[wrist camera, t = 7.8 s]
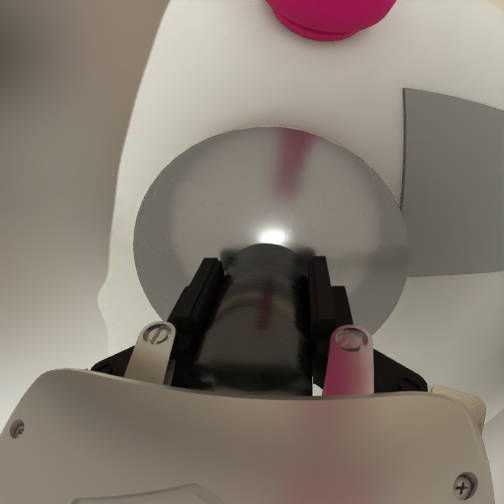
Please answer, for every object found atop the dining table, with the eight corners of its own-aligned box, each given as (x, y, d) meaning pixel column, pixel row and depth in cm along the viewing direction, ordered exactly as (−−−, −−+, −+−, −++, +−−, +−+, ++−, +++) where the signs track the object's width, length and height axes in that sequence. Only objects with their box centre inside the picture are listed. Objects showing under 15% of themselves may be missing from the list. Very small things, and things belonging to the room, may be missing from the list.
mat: (533, 122, 12) (536, 123, 11) (509, 268, 18) (511, 270, 18) (402, 88, 14) (405, 87, 14) (391, 274, 20) (392, 277, 20)
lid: (411, 128, 10) (528, 165, 3) (377, 352, 16) (396, 455, 9) (120, 146, 12) (0, 195, 5) (176, 349, 18) (138, 441, 11)
